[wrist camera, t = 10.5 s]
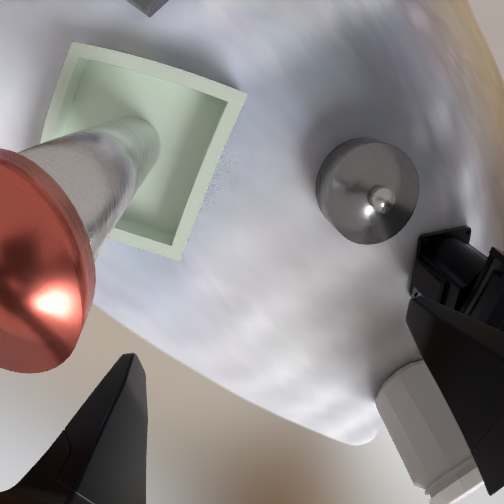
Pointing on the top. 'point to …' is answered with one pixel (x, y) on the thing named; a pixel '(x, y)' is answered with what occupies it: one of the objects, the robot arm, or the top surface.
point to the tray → (165, 123)
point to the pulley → (367, 190)
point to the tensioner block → (148, 5)
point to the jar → (427, 435)
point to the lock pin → (62, 233)
